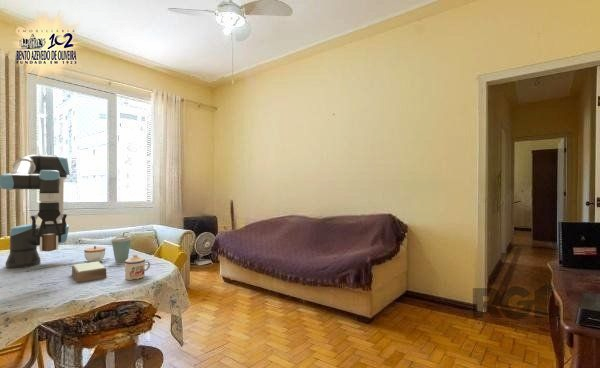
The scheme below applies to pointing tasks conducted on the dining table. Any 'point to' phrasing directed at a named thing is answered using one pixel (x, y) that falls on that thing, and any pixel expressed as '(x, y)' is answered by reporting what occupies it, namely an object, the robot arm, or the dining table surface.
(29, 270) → the dining table surface
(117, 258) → the disposable coffee cup
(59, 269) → the dining table surface
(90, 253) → the lidded jar
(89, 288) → the dining table surface
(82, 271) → the walnut stand
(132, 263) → the teacup with lid
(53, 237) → the wooden block
